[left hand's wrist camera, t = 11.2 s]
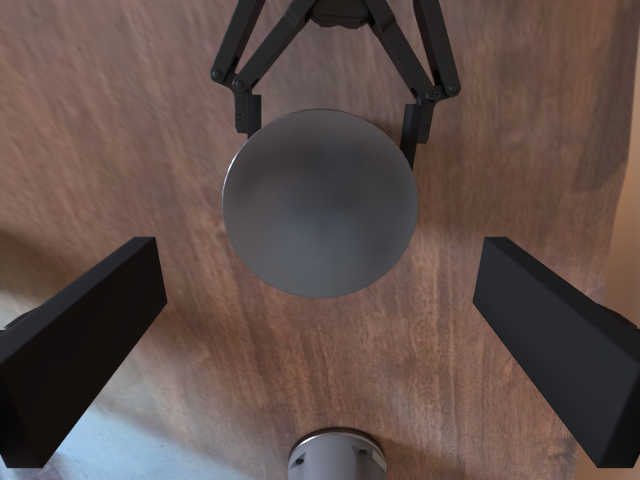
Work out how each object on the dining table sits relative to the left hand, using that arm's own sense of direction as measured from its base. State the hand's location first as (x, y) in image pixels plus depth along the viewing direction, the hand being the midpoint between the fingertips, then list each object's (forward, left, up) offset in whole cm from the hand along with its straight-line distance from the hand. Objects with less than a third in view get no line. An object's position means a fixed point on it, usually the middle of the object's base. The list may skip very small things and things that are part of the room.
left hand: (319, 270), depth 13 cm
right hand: (-1, -1, -20) cm, 20 cm away
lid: (0, 0, -7) cm, 7 cm away
